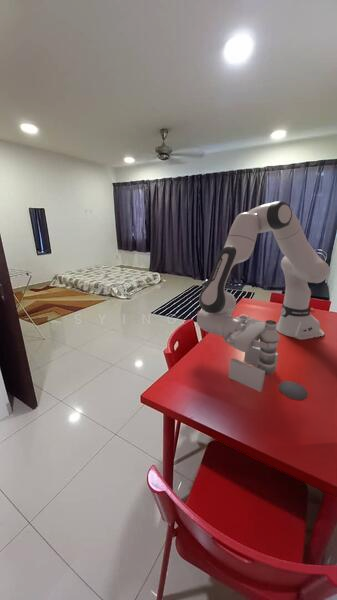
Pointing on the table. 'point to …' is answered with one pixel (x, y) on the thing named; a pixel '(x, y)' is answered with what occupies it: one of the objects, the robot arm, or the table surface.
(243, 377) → the guide channel
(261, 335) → the plastic bottle
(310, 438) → the table surface
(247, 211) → the robot arm
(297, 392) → the mat
